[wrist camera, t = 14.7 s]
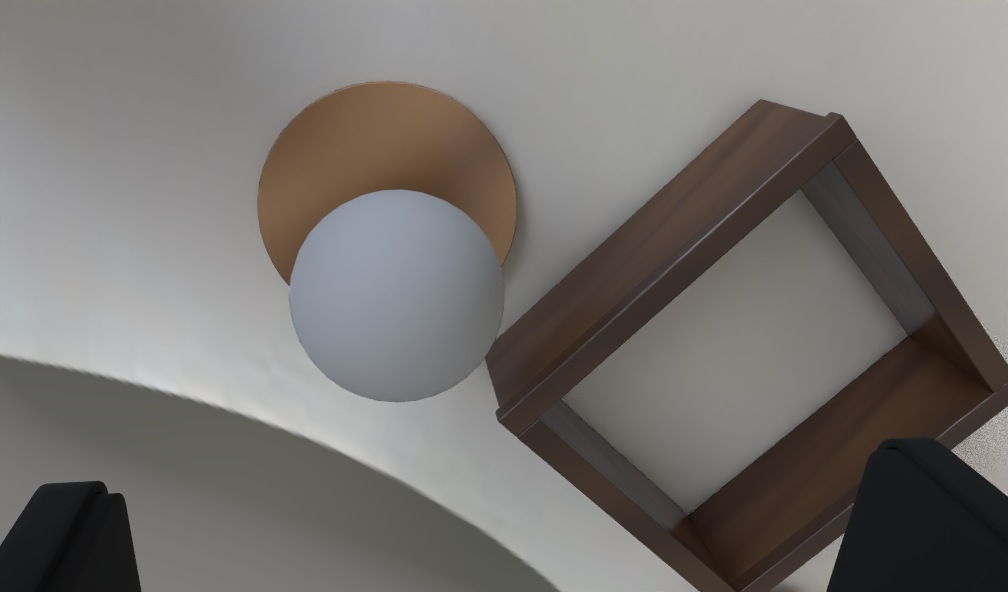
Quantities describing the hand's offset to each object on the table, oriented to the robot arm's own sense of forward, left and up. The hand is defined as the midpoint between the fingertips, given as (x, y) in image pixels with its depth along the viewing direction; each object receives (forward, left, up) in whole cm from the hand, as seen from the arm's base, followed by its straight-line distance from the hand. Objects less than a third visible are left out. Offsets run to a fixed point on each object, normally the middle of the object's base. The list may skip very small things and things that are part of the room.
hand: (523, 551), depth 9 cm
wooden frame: (+15, +4, -21) cm, 26 cm away
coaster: (0, -2, -21) cm, 21 cm away
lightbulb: (0, -2, -21) cm, 21 cm away
